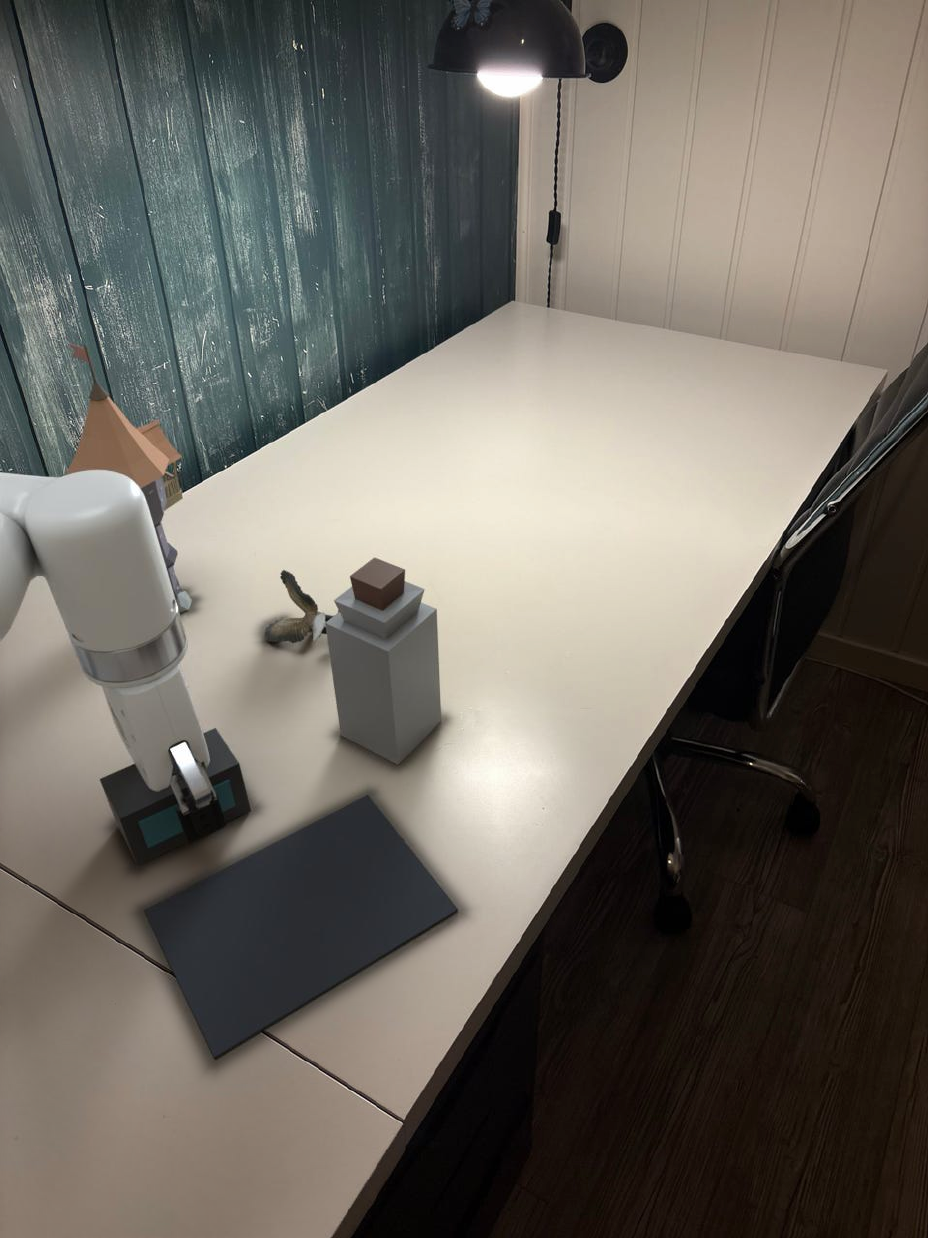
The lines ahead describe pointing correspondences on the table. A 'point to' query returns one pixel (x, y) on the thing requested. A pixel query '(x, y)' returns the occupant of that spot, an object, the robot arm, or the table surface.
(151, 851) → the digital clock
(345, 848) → the rubber mat
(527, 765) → the table surface
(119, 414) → the model tower
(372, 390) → the table surface
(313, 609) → the eagle figurine
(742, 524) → the table surface
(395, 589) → the perfume bottle
